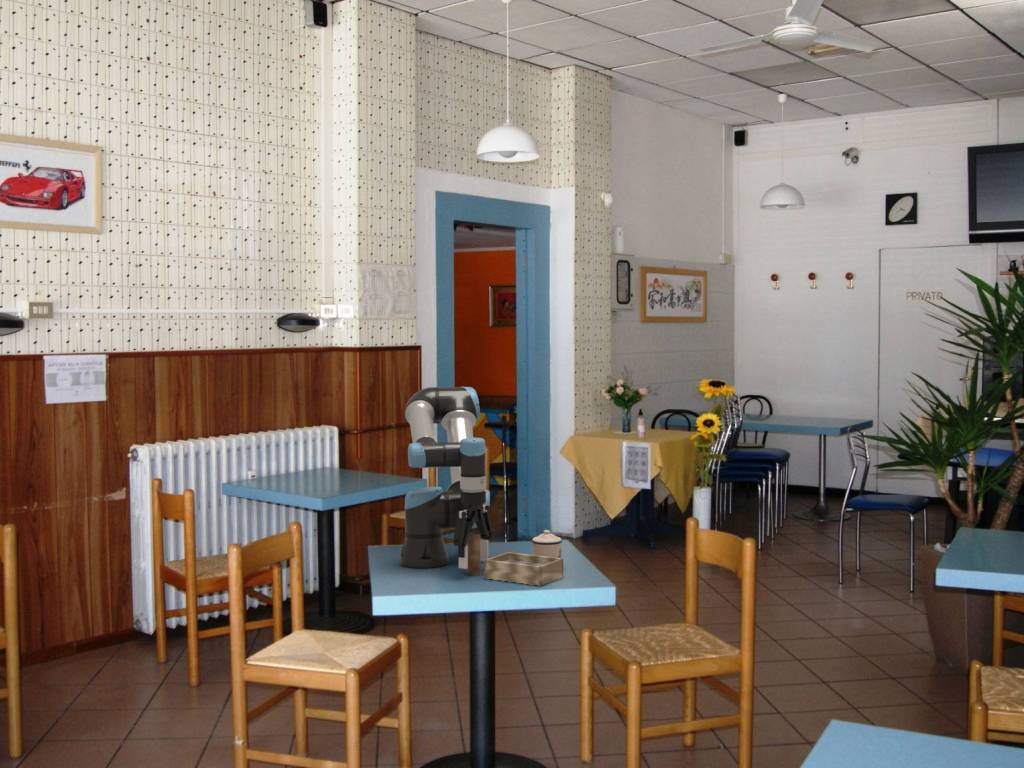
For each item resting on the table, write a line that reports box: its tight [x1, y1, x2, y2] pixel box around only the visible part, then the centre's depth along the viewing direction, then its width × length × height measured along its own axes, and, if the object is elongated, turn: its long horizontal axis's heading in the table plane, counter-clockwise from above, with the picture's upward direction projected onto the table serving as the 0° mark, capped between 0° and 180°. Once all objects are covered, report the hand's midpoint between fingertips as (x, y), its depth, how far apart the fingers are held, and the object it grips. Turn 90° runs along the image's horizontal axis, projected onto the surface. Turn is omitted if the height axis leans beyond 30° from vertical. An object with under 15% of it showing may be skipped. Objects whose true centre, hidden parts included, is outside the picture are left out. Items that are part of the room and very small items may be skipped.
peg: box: [466, 532, 481, 576], centre depth 311 cm, size 4×4×12 cm
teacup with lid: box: [531, 529, 563, 558], centre depth 319 cm, size 12×9×12 cm
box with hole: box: [483, 551, 564, 587], centre depth 306 cm, size 19×13×6 cm
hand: (473, 564), depth 311 cm, fingers open, 10 cm apart
